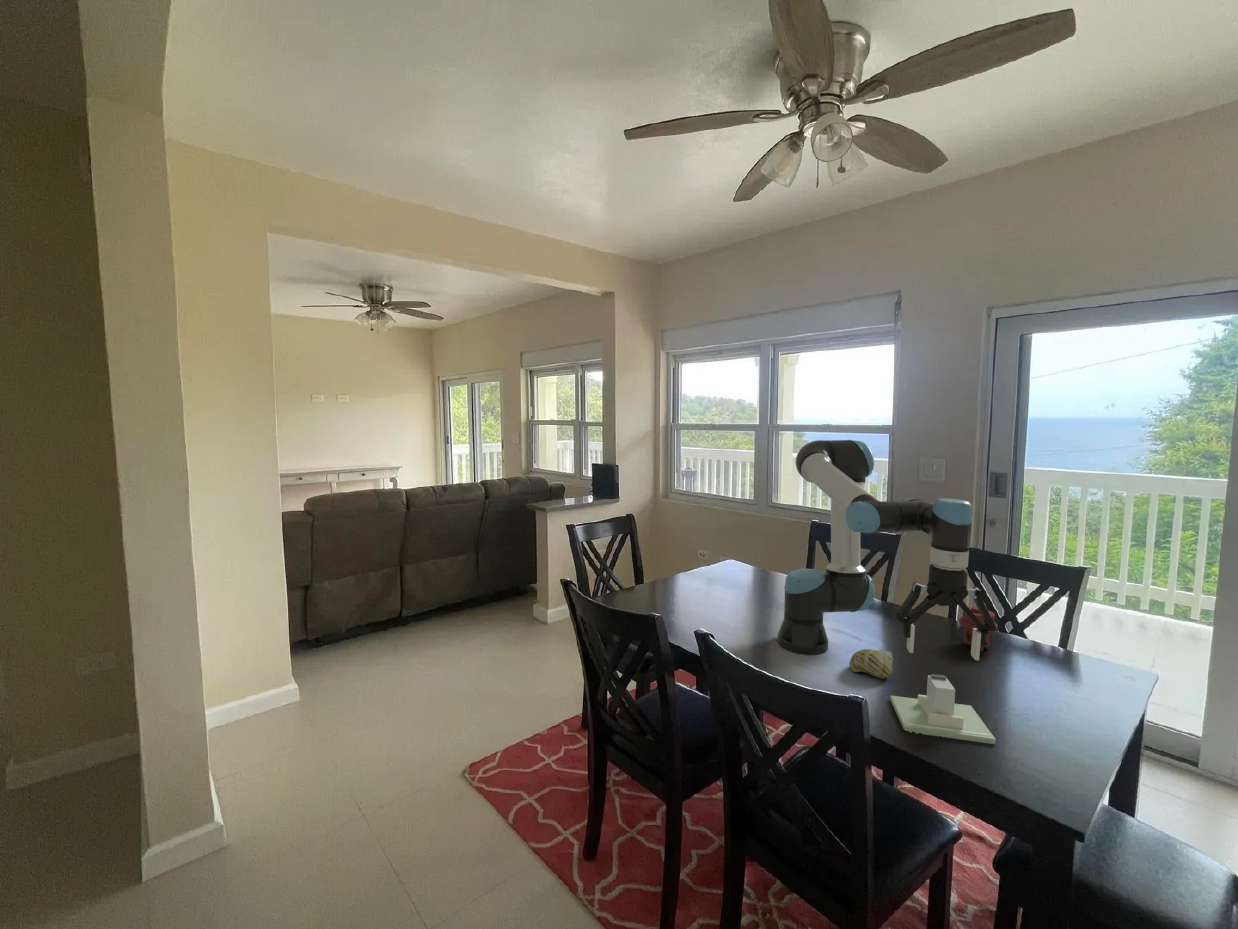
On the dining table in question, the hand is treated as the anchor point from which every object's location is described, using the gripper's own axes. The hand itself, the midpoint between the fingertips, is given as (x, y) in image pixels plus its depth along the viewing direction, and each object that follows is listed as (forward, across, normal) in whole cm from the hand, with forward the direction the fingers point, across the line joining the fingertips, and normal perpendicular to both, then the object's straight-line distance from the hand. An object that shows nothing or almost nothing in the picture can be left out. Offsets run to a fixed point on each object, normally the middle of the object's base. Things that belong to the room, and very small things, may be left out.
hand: (941, 654), depth 123 cm
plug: (+15, 0, -1) cm, 15 cm away
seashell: (+17, -10, +20) cm, 28 cm away
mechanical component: (+17, +25, +48) cm, 57 cm away
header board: (+16, 0, -1) cm, 16 cm away
